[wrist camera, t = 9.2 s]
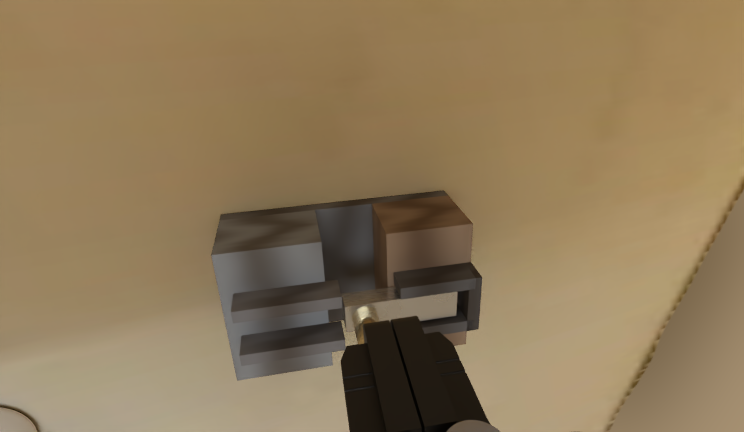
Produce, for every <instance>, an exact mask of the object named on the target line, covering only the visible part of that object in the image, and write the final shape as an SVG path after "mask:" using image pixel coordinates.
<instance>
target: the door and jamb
mask: <svg viewBox="0 0 744 432" xmlns="http://www.w3.org/2000/svg"><path fill="white" fill-rule="evenodd" d="M472 231H473V223H472V222H471V221H470V220H469V219H468V218H467V216H466V215H465V214H464V213H463V212H462V211H461V210H460V209H459V207H458V206H457V205H456V204H455V203H454V202H453V201H452V199H451V198H450V197H449V196H448V195H447V194H446V193H445V191H436V192H426V193H417V194H408V195H398V196H389V197H380V198H371V199H361V200H352V201H343V202H333V203H324V204H315V205H306V206H296V207H287V208H278V209H268V210H259V211H250V212H241V213H231V214H222V215H221V216H220V221H219V225H218V229H217V233H216V238H215V242H214V246H213V250H212V254H211V256H212V261H213V266H214V271H215V275H216V280H217V285H218V290H219V295H220V300H221V304H222V309H223V314H224V319H225V324H226V329H227V334H228V338H229V343H230V348H231V353H232V358H233V363H234V368H235V372H236V377H237V380H244V379H250V378H256V377H262V376H269V375H275V374H281V373H287V372H293V371H300V370H306V369H312V368H318V367H325V366H331V365H333V363H332V352H335V351H342V350H345V349H346V348H345V338H344V333H343V328H342V324H341V321H340V320H344V317H343V304H342V294H344V293H351V292H359V291H366V290H373V289H380V288H388V287H396V289H397V292H398V294H399V296H400V299H401V300H402V299H409V298H416V297H423V296H430V295H437V294H444V293H451V292H457V310H456V316H451V317H444V318H438V319H431V320H424V321H420V323H421V326H422V328H423V331H424V333H425V334H426V333H433V332H440V333H442V334H443V335H444V336H445V337H446V338H447V339H448V340H450V341H451V342H452V343H453V345H454V346H456V345H462V344H466V331H470V330H476V329H478V327H479V313H480V300H481V286H482V277H481V275H480V274H479V273H478V271H477V270H476V269H475V267H474V266H473V264H472V263H471V248H472ZM333 321H337V322H333ZM329 322H331V323H329Z"/></svg>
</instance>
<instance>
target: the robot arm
mask: <svg viewBox="0 0 744 432" xmlns="http://www.w3.org/2000/svg"><path fill="white" fill-rule="evenodd" d="M363 335H364V344H357V345H351V346H346V349H345V352H344V354H343V357H342V359H341V368H342V376H343V384H344V392H345V400H346V407H347V415H348V422H349V430H350V432H500V431H499V430H498V429H496V428H495V427H494V426H492V425H491V424H490V423H489V421H488V419H487V418H486V415H485V413H484V411H483V409H482V407H481V404H480V402H479V400H478V398H477V396H476V393H475V391H474V389H473V387H472V385H471V382H470V380H469V378H468V376H467V374H466V373H465V369H464V367H463V365H462V363H461V361H460V360H459V356H458V354H457V352H456V350H455V347H454V345H453V343H452V342H451V341H450V340H448V339H447V338H446V337H445V336H444V335H443V334H442V333H440V332H433V333H426V334H425V333H424V331H423V328H422V326H421V323H420V321H419V318H418V316H411V317H404V318H397V319H391V321H389V320H385V321H379V322H372V323H366V324H363Z"/></svg>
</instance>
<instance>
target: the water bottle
mask: <svg viewBox="0 0 744 432" xmlns="http://www.w3.org/2000/svg"><path fill="white" fill-rule="evenodd" d="M0 432H37V430H36V427H35V426H34V424H33V423H32V421H31V420H30V419H29V418H27V417H26V416H25V415H23V414H21V413H19V412H17V411H14V410H11V409H7V408H1V407H0Z"/></svg>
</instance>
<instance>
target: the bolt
mask: <svg viewBox="0 0 744 432" xmlns="http://www.w3.org/2000/svg"><path fill="white" fill-rule="evenodd" d="M342 304H343V317H344V323H345V327H346V332H351V331H355V333H356V337H357V341H358V344H364V335H363V324H366V323H372V322H379V321H385V320H389V321H391V319H397V318H404V317H411V316H418V318H419V321H424V320H431V319H438V318H444V317H451V316H456V310H457V292H451V293H444V294H437V295H430V296H423V297H416V298H409V299H402V300H401V299H400V296H399V294H398V292H397V289H396V287H388V288H380V289H373V290H366V291H359V292H351V293H344V294H342Z"/></svg>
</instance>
